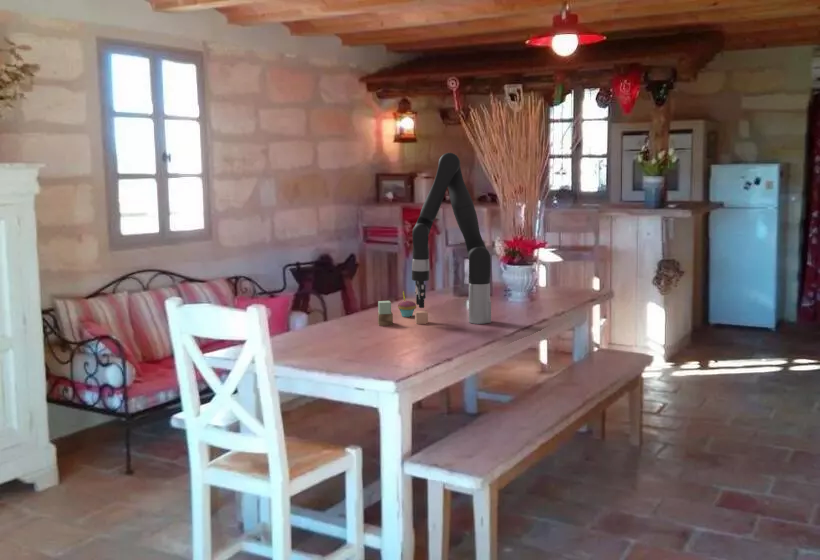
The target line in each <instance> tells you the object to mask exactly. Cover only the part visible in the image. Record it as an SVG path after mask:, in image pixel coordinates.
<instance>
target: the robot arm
mask: <svg viewBox="0 0 820 560" xmlns="http://www.w3.org/2000/svg"><path fill="white" fill-rule="evenodd" d="M437 163H438V166H437V169H436V173H435V174H436V175H435V177H434V181H433V183H432V185H431V188H430V189H429V192H428V194H427V195H426V197H425V200H424V202H423V204H422V207H421V208H420V213H419V217H418V218H417V221H416V223H415V225H414V226H413V228H412V247H413V248H412V261H411V280H412V281H414V282H415V284H414V285H415V291H414V293H415V296H416V299H415V304H416V306H418V308H420V309H424V308H425V299H426V298H427V297H426V284H425V282H427V281H429V280H430V260H429V259H430V256H429V255H430V253H429V252H430V250H429V234H430V231H431V229H432V227H433V223H434V221H435V219H436V218H437V215H438V213H439V210H440V208H441V207H442V202H443V200H444V198H445V195H446V191H447V190H448V194H449V199H450V200H449V201H450V204H451V208H452V212H453V215H454V218H455V221H456V223H457V225H458V226H457V227H459V228H458V229H459V230H460V232H461V234H462V236H463V239H464V243H465V248H466V252H467V258H468V323H470V324H475V325H477V324H478V325H479V324H480V325H481V324H482V325H483V324H491V323H492V301H491V261H492V259H491V253H490V251H489V250H488V248H487V247H486V245H485V242H484V240H483V238H482V236H481V233H480V226H479V219H478V215H477V211H476V208H475V205H474V201H473V199H472V196H471V194H470V192H469V190H468V188H467V186H466V183H465V182H464V177H463V173H462V169H461V168H462V167H461V161H460V158H459V157H458V155H457V154H455V153H453V152H446V153H443V154H442V155H441V156H440V158H439V159H438V162H437Z"/></svg>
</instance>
